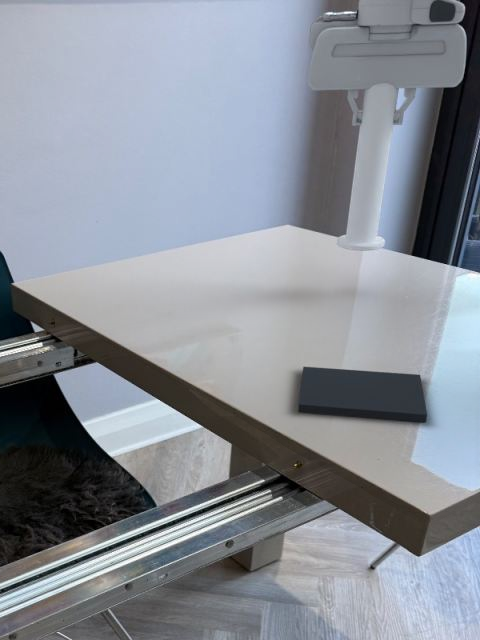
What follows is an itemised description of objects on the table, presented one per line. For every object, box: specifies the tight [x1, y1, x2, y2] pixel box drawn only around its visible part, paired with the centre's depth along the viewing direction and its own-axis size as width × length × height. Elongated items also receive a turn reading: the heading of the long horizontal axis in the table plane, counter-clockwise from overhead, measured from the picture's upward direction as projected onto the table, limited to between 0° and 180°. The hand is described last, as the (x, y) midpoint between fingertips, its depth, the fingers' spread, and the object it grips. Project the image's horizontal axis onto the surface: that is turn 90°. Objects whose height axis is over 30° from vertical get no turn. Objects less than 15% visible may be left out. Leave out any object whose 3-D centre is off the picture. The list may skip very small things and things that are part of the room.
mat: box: [297, 366, 428, 423], centre depth 94 cm, size 14×11×1 cm
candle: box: [336, 83, 400, 252], centre depth 113 cm, size 7×7×25 cm
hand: (377, 124), depth 111 cm, fingers closed on candle, 4 cm apart
